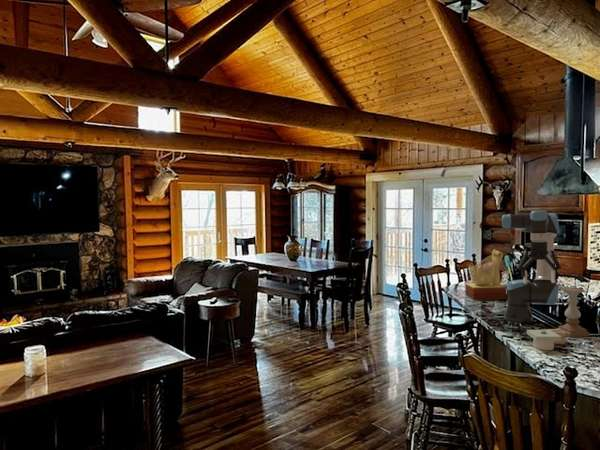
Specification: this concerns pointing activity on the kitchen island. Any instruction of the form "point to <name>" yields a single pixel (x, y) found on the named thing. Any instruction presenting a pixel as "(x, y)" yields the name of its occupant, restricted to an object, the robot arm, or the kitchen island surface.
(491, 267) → the decorative skull
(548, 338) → the lid
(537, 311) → the kitchen island surface
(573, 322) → the candle holder
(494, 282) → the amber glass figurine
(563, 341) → the block
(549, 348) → the bowl
